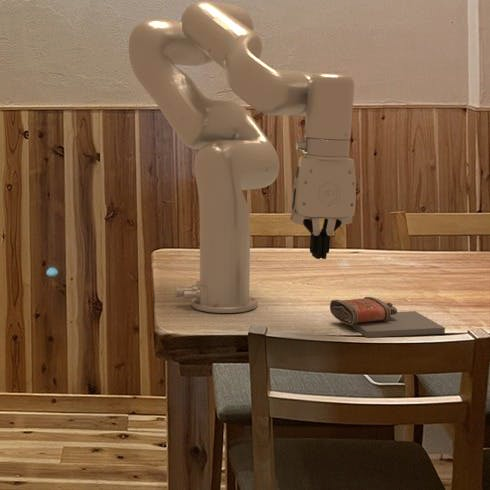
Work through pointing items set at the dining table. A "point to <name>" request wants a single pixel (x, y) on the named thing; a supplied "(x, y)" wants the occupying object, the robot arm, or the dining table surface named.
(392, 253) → the dining table surface
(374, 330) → the mat
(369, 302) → the lighter
